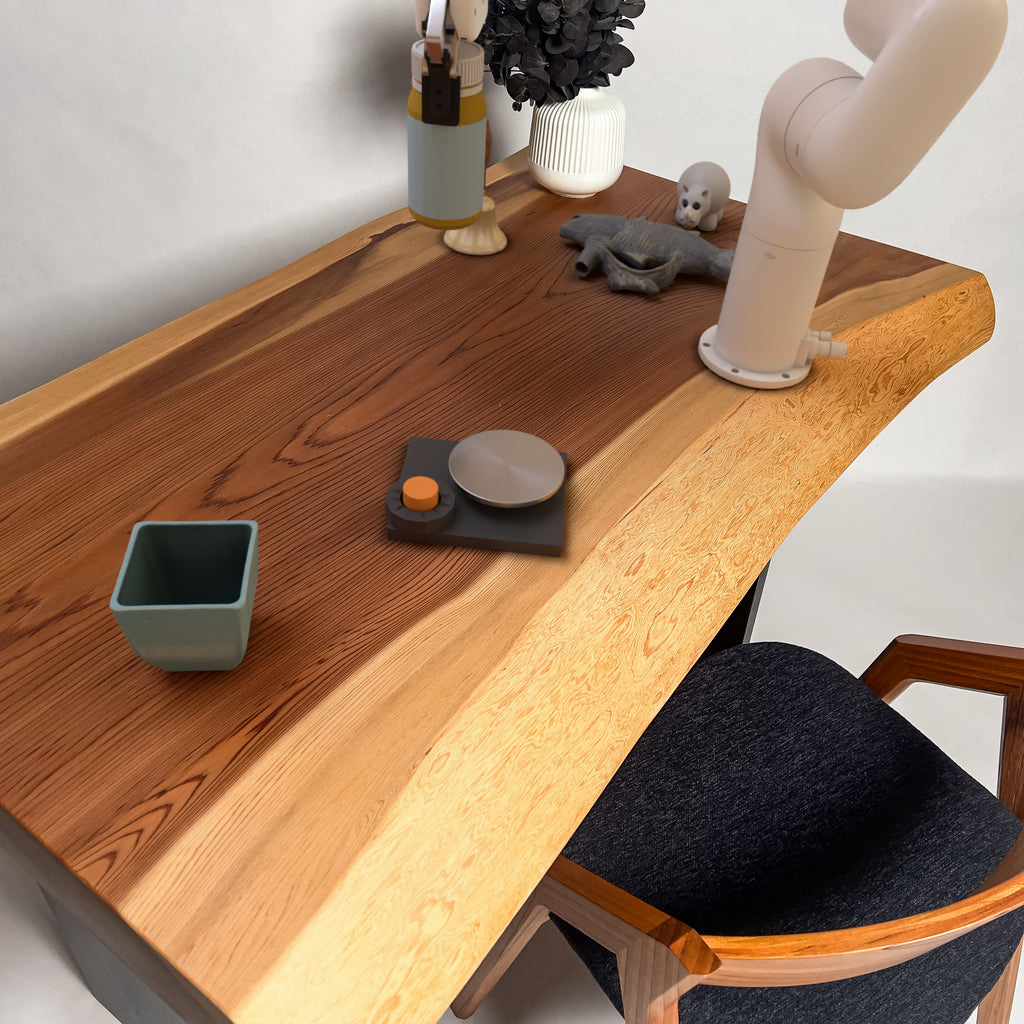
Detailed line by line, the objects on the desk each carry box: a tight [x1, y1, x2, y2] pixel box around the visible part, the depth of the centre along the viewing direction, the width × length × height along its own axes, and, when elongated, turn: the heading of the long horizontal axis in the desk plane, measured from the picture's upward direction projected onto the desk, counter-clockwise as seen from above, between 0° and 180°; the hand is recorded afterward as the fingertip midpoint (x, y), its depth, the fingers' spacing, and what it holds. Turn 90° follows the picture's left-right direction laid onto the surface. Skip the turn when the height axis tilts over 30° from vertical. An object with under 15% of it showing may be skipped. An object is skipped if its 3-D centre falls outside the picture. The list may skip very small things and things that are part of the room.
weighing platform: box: [448, 429, 565, 508], centre depth 86 cm, size 10×10×1 cm
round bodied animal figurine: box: [674, 160, 732, 232], centre depth 130 cm, size 7×12×8 cm, turn 155°
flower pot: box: [109, 519, 259, 673], centre depth 70 cm, size 9×9×9 cm
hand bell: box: [443, 116, 508, 256], centre depth 120 cm, size 8×8×16 cm
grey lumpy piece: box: [558, 213, 736, 296], centre depth 121 cm, size 5×25×15 cm
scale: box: [384, 436, 568, 558], centre depth 86 cm, size 16×13×3 cm
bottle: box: [406, 38, 488, 231], centre depth 86 cm, size 7×7×15 cm
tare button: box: [403, 476, 438, 512], centre depth 82 cm, size 3×3×2 cm
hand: (447, 106), depth 85 cm, fingers closed on bottle, 7 cm apart
